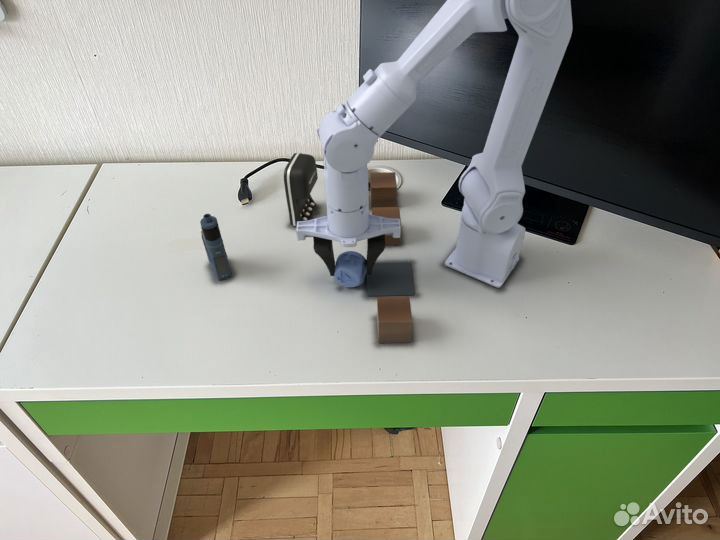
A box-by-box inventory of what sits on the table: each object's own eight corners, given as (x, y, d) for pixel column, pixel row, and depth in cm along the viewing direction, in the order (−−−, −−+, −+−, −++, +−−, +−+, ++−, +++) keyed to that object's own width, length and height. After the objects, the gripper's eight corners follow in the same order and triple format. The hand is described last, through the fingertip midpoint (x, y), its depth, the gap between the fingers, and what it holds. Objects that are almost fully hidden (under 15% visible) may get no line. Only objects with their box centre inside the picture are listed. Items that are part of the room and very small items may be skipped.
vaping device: (218, 283, 82) (200, 223, 74) (208, 262, 85) (190, 203, 77) (234, 277, 83) (218, 218, 74) (224, 257, 86) (208, 198, 78)
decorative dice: (360, 289, 80) (359, 271, 77) (334, 285, 81) (333, 266, 78) (367, 271, 83) (366, 253, 80) (342, 267, 84) (341, 248, 81)
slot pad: (414, 295, 80) (414, 294, 80) (367, 296, 80) (367, 295, 80) (410, 263, 85) (410, 262, 84) (366, 264, 85) (366, 263, 84)
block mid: (400, 245, 88) (401, 224, 84) (373, 245, 88) (373, 225, 84) (398, 227, 91) (399, 206, 88) (372, 228, 91) (372, 207, 88)
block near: (410, 342, 73) (412, 321, 70) (378, 343, 73) (378, 322, 70) (408, 317, 77) (409, 296, 73) (376, 318, 77) (377, 297, 73)
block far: (396, 207, 95) (397, 187, 92) (371, 208, 95) (370, 187, 92) (394, 192, 98) (395, 172, 95) (370, 193, 98) (370, 172, 95)
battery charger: (310, 230, 91) (304, 174, 83) (289, 227, 91) (281, 171, 83) (322, 205, 95) (317, 150, 87) (302, 202, 96) (295, 147, 88)
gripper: (291, 219, 68) (301, 291, 78) (403, 216, 68) (400, 288, 78) (294, 187, 73) (304, 258, 83) (399, 184, 73) (396, 255, 83)
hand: (350, 270), depth 81 cm, fingers closed on decorative dice, 5 cm apart
